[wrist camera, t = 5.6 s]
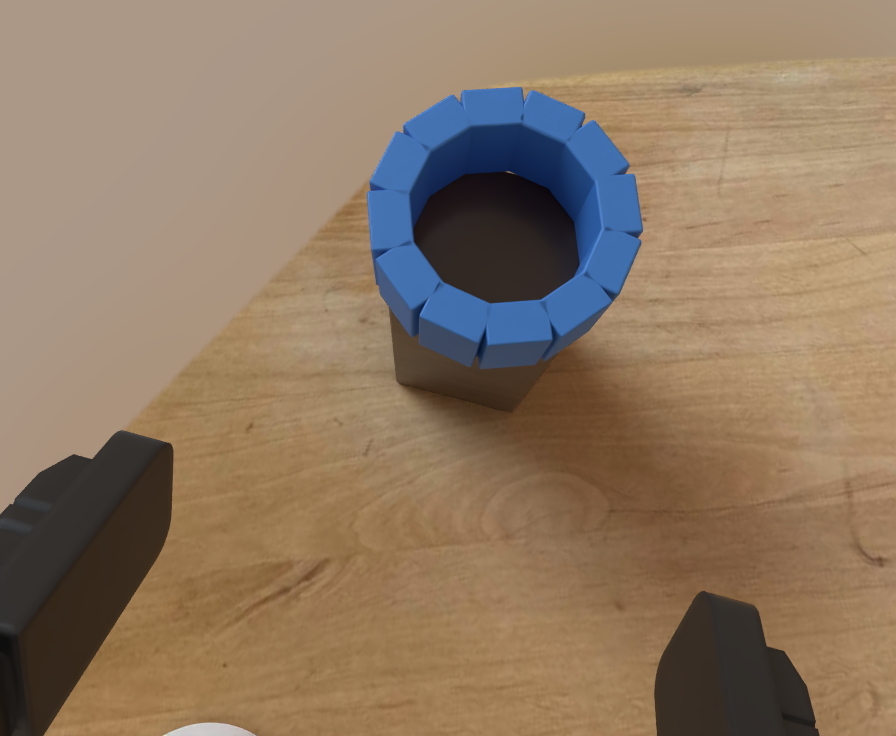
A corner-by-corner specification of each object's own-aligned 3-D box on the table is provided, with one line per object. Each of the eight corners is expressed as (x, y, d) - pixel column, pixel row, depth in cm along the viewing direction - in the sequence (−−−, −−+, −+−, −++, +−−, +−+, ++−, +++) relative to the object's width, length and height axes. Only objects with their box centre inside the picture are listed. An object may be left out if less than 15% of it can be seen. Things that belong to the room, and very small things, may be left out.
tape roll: (332, 304, 21) (321, 272, 18) (436, 103, 22) (439, 47, 20) (558, 408, 20) (578, 389, 18) (649, 198, 22) (681, 153, 19)
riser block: (395, 382, 31) (387, 307, 21) (427, 271, 32) (433, 151, 22) (512, 413, 31) (559, 353, 21) (540, 301, 32) (597, 194, 22)
